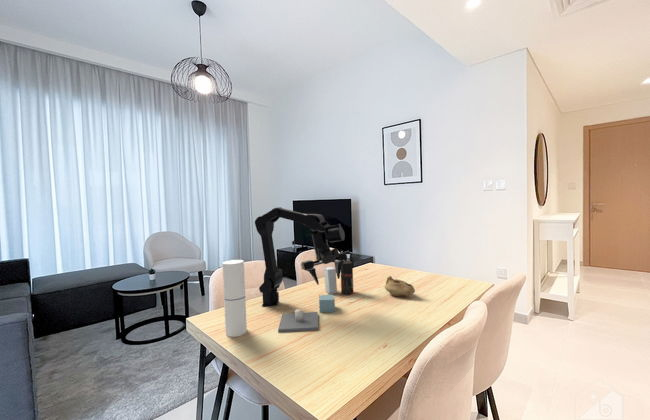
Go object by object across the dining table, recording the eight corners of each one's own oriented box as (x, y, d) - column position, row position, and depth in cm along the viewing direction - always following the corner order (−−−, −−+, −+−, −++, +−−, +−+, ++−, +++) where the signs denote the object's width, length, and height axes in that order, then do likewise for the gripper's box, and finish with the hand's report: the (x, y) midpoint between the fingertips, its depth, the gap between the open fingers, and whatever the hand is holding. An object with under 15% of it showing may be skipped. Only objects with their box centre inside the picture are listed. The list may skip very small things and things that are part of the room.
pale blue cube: (319, 312, 116) (319, 300, 116) (319, 306, 122) (319, 295, 122) (334, 311, 116) (334, 299, 116) (333, 306, 123) (333, 294, 122)
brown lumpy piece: (411, 301, 125) (410, 283, 125) (380, 295, 134) (379, 278, 134) (420, 294, 133) (419, 277, 133) (390, 289, 143) (389, 273, 142)
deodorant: (352, 294, 136) (351, 263, 136) (340, 294, 138) (339, 263, 137) (354, 291, 142) (353, 261, 142) (342, 290, 143) (341, 261, 143)
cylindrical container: (227, 338, 96) (224, 265, 96) (224, 330, 103) (221, 261, 102) (248, 333, 100) (245, 262, 99) (244, 325, 106) (241, 259, 105)
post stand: (278, 332, 100) (277, 319, 100) (282, 316, 114) (282, 304, 114) (318, 330, 100) (317, 317, 100) (317, 314, 114) (317, 302, 114)
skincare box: (337, 293, 139) (336, 268, 139) (328, 294, 138) (328, 269, 137) (332, 289, 145) (332, 266, 145) (324, 291, 144) (323, 267, 143)
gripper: (304, 249, 107) (312, 290, 107) (348, 239, 114) (356, 278, 113) (297, 249, 118) (305, 286, 117) (338, 239, 124) (346, 274, 123)
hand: (328, 281), depth 118 cm, fingers open, 9 cm apart
